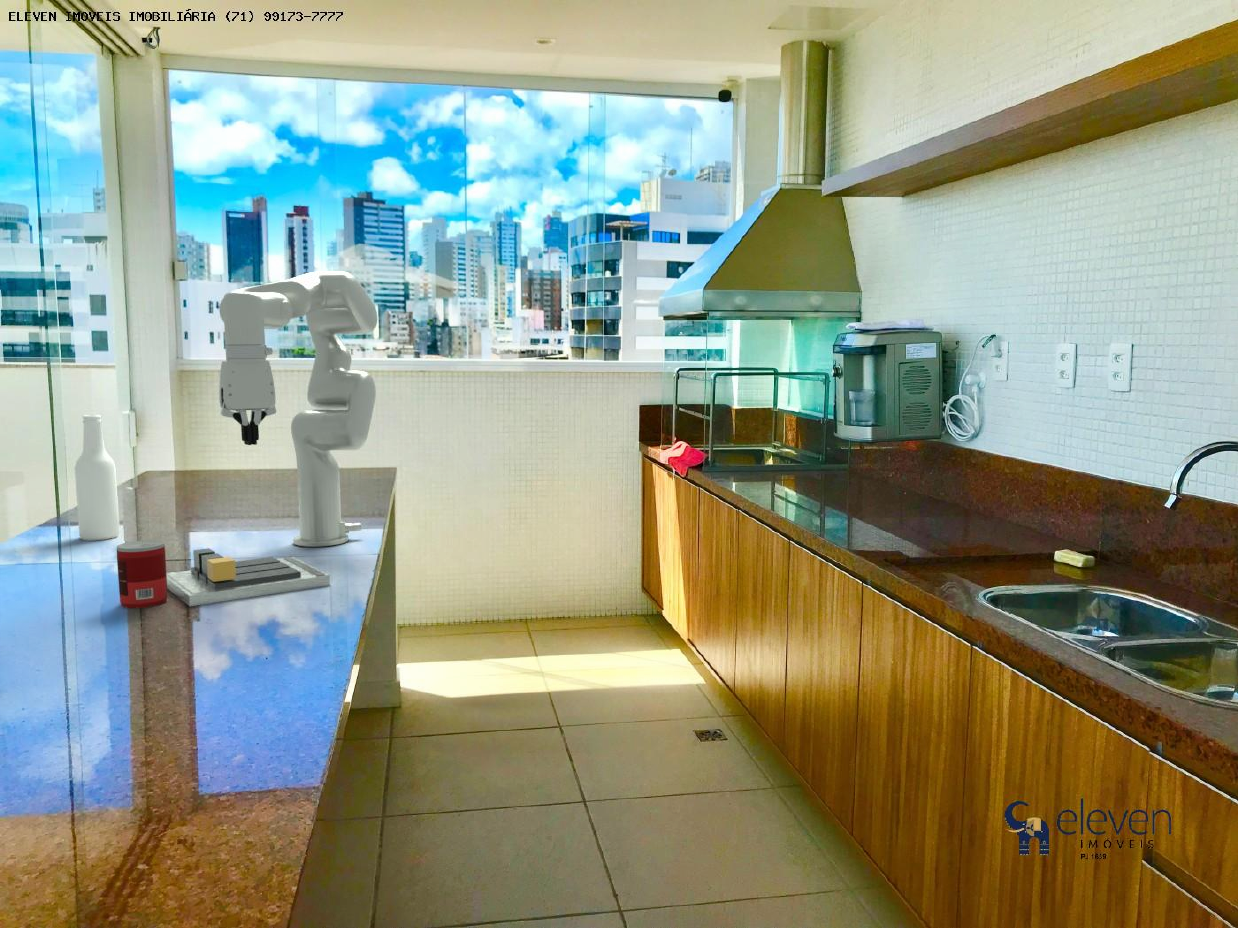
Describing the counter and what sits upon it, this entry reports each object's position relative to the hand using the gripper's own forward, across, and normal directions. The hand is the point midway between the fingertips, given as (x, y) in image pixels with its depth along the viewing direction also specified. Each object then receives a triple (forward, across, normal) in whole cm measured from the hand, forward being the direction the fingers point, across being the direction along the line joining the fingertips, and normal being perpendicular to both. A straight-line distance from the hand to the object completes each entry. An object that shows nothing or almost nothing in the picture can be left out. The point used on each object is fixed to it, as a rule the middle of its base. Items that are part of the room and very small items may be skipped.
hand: (250, 444), depth 201 cm
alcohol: (+27, +19, -61) cm, 69 cm away
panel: (+26, +5, +10) cm, 29 cm away
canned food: (+27, +24, +13) cm, 38 cm away
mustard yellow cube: (+23, +11, +16) cm, 30 cm away
